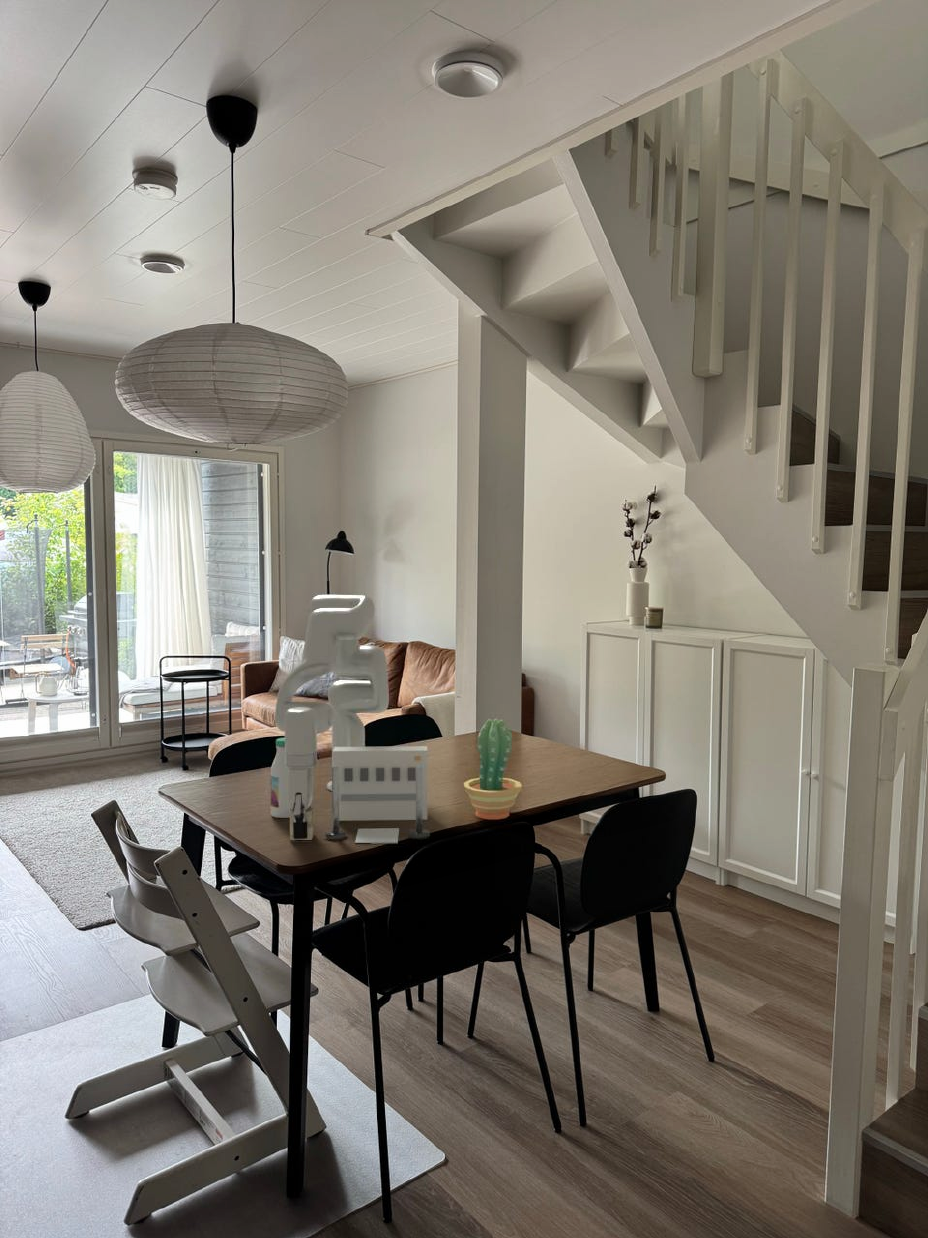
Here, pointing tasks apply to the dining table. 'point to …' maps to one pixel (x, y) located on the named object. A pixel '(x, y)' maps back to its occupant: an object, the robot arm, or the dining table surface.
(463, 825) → the dining table surface
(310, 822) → the birch block
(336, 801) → the post
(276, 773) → the milk bottle
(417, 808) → the post
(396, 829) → the mat
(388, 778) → the switch box
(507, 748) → the potted cactus
